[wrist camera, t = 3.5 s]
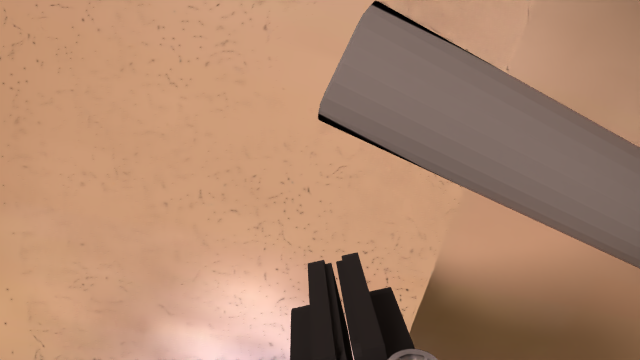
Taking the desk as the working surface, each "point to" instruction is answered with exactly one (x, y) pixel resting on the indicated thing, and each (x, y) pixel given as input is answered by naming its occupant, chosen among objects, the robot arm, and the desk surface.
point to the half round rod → (485, 131)
